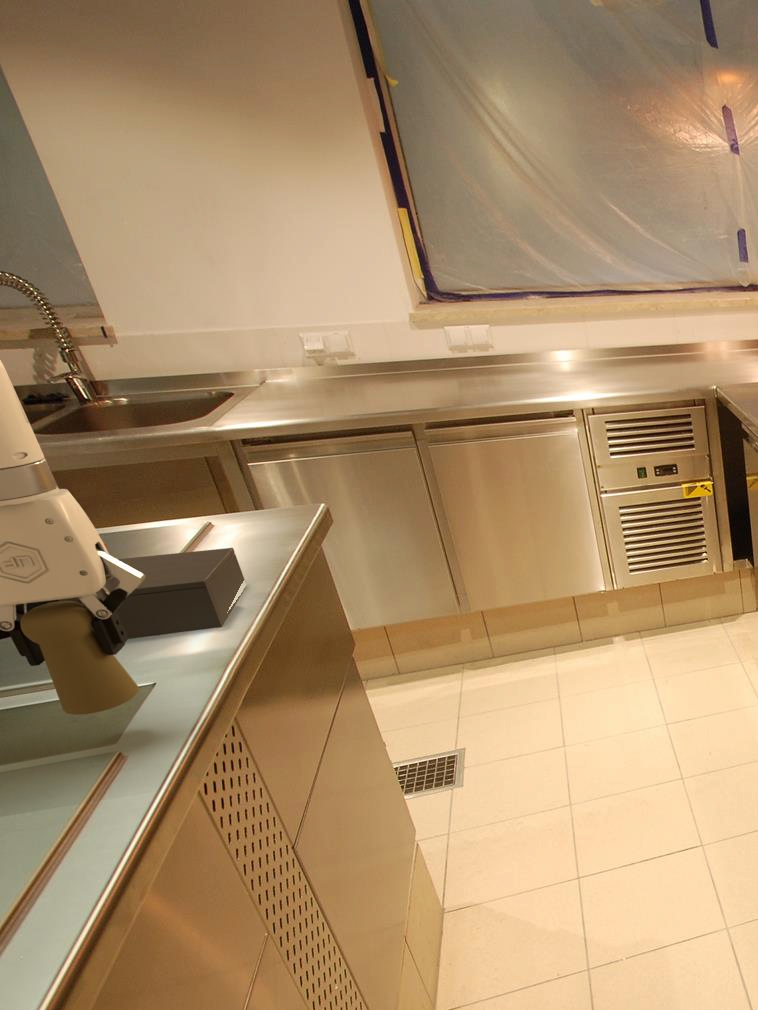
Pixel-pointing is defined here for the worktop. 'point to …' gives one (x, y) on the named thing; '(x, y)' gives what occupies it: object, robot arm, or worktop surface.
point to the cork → (77, 658)
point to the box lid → (173, 570)
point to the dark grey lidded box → (182, 606)
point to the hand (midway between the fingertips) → (79, 653)
